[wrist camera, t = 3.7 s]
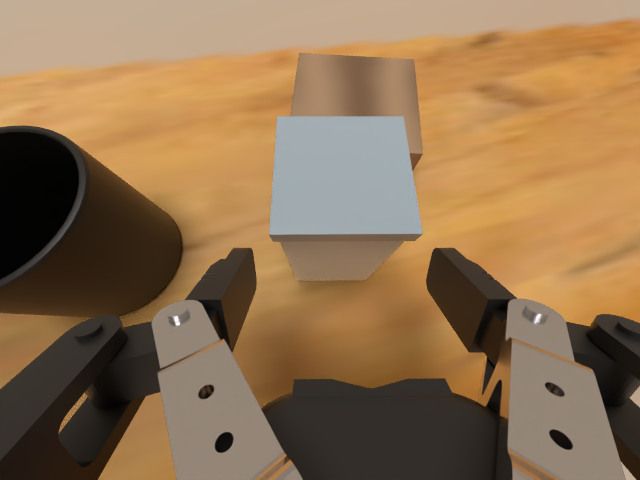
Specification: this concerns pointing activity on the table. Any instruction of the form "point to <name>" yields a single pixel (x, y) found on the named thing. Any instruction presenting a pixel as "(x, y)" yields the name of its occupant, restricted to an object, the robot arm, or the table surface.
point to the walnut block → (359, 91)
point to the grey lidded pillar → (342, 194)
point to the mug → (76, 232)
